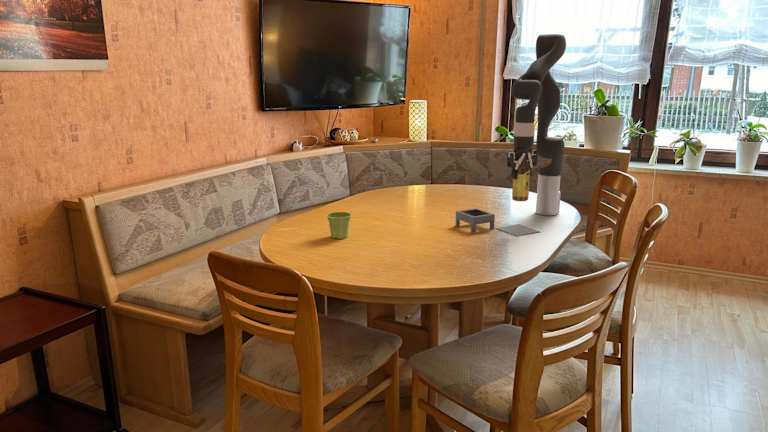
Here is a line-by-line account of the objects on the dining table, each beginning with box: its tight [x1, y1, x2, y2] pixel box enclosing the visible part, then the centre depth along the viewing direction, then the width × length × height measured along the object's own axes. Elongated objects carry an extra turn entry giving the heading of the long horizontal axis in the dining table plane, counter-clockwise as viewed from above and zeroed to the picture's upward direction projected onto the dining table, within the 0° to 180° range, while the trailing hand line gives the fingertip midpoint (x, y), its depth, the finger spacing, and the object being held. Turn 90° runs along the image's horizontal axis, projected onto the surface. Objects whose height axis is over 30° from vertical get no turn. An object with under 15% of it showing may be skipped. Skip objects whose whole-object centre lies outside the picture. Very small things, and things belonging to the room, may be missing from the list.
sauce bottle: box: [511, 149, 531, 202], centre depth 221 cm, size 6×6×20 cm
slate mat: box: [495, 223, 541, 237], centre depth 226 cm, size 12×12×1 cm
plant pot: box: [325, 211, 352, 240], centre depth 216 cm, size 9×9×9 cm
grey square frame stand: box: [455, 207, 496, 233], centre depth 230 cm, size 10×11×6 cm
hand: (521, 178), depth 221 cm, fingers closed on sauce bottle, 6 cm apart
